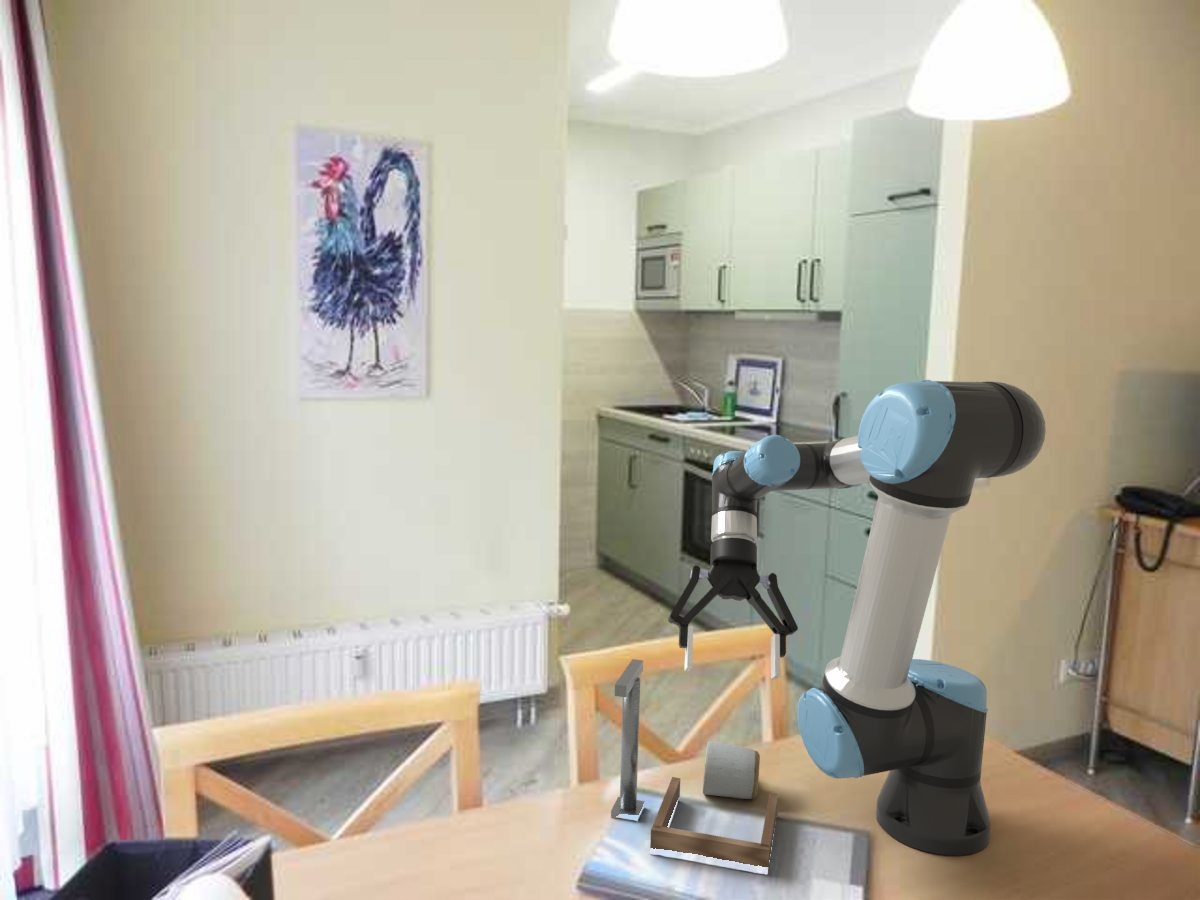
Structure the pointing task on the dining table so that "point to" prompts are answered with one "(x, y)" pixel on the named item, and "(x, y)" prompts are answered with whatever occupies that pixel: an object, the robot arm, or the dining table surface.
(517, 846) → the dining table surface
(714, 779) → the grey upright rounded block
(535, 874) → the dining table surface
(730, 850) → the tray frame
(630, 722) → the t stake
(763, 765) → the dining table surface
